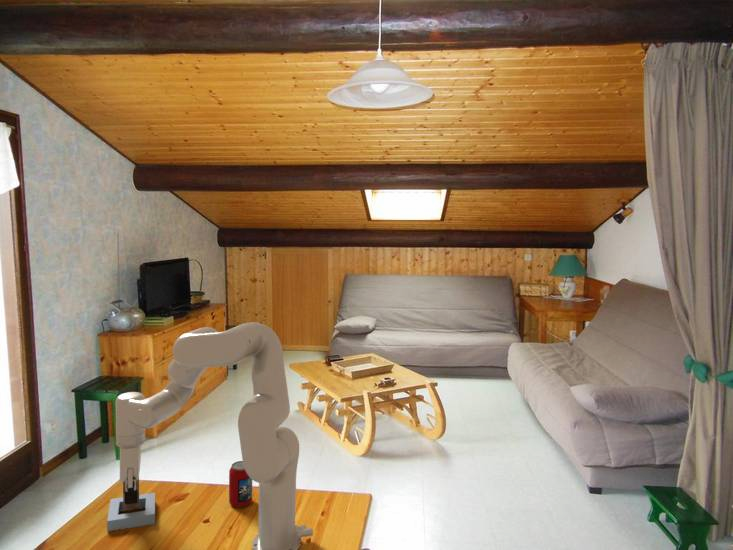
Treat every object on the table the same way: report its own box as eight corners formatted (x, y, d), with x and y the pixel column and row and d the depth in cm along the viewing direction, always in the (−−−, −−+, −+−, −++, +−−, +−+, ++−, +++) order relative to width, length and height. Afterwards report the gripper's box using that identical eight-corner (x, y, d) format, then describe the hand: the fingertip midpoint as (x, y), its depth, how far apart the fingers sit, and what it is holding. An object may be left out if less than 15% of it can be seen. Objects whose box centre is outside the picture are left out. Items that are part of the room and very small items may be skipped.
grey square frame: (155, 502, 163) (155, 492, 163) (154, 523, 152) (154, 513, 152) (110, 508, 159) (110, 498, 158) (107, 531, 148) (107, 521, 147)
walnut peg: (139, 501, 158) (138, 465, 156) (138, 508, 154) (138, 471, 153) (124, 503, 156) (123, 466, 155) (123, 510, 152) (122, 473, 151)
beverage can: (246, 510, 160) (246, 471, 159) (225, 507, 161) (225, 468, 160) (255, 498, 167) (256, 461, 165) (235, 495, 168) (235, 458, 167)
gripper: (118, 427, 159) (118, 486, 161) (113, 451, 144) (114, 517, 146) (145, 424, 162) (146, 483, 164) (144, 448, 146) (145, 512, 148)
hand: (131, 498), depth 155 cm, fingers closed on walnut peg, 4 cm apart
